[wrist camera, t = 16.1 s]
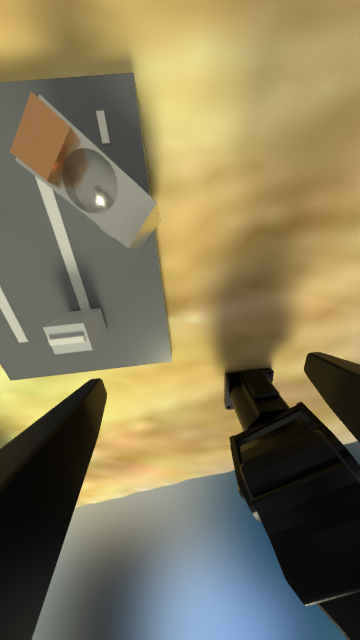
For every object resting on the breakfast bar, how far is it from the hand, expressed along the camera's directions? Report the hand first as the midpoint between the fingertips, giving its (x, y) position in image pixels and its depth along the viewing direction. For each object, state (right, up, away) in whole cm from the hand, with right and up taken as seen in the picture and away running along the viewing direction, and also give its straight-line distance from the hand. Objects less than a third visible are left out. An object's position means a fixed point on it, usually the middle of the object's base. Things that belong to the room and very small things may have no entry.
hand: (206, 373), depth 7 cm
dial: (-6, +11, +6) cm, 14 cm away
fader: (-10, +2, +9) cm, 14 cm away
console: (-12, +7, +9) cm, 17 cm away
